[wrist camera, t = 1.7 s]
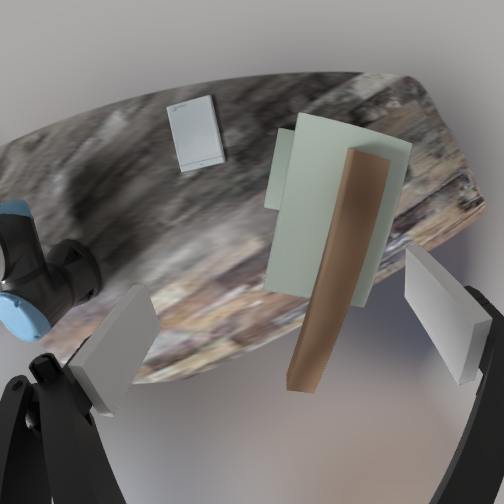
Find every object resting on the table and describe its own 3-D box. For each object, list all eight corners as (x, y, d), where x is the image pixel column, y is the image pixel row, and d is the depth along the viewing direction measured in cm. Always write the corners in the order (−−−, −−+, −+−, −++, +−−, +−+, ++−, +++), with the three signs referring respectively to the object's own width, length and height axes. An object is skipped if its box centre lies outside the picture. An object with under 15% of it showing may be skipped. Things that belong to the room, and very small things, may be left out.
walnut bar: (286, 374, 33) (286, 390, 30) (347, 148, 24) (354, 149, 21) (312, 377, 33) (313, 393, 30) (381, 157, 24) (391, 160, 21)
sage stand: (263, 210, 56) (247, 286, 29) (279, 122, 50) (281, 108, 23) (333, 224, 56) (377, 309, 29) (353, 139, 50) (426, 148, 23)
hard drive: (165, 106, 49) (180, 172, 53) (210, 94, 48) (225, 162, 52) (168, 107, 51) (183, 171, 55) (211, 95, 50) (226, 161, 54)
